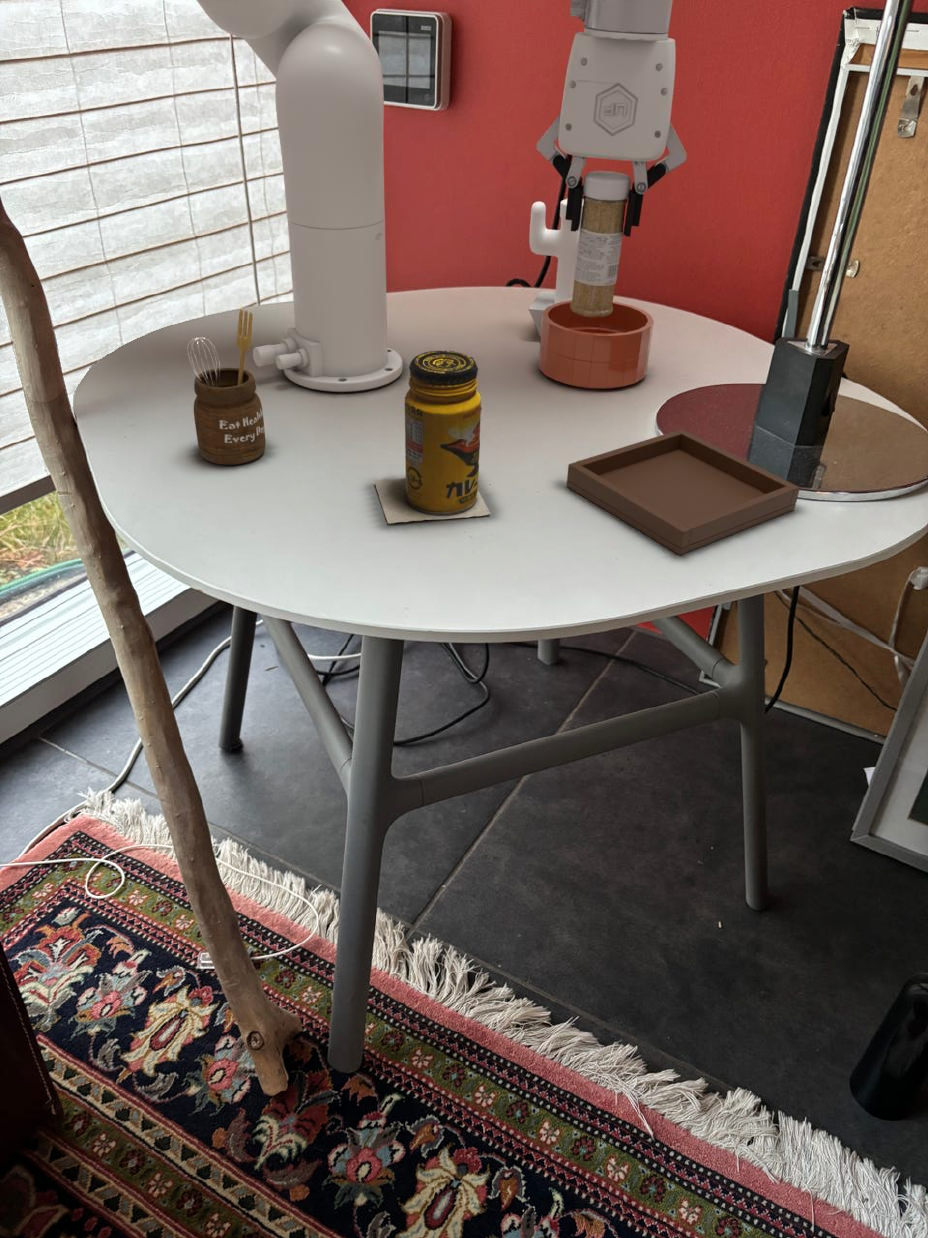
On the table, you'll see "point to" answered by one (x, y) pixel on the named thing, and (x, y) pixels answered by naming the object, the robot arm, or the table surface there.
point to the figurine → (553, 245)
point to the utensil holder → (229, 408)
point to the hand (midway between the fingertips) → (601, 228)
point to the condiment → (438, 443)
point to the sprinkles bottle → (599, 242)
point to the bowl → (595, 346)
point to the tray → (682, 489)
